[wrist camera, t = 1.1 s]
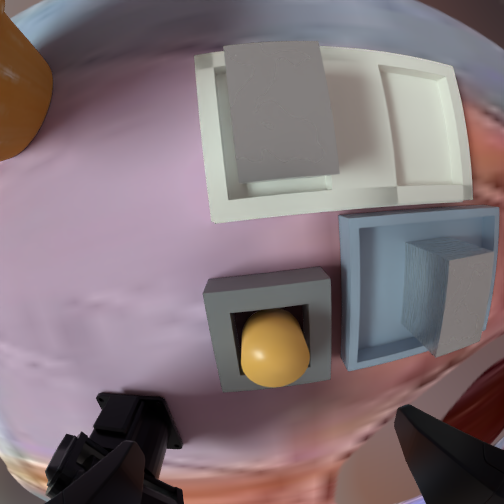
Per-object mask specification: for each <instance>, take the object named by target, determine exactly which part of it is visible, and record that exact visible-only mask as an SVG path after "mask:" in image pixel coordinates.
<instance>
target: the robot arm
mask: <svg viewBox="0 0 504 504" xmlns="http://www.w3.org/2000/svg"><path fill="white" fill-rule="evenodd" d="M96 399H97V401H98V403H99V405H100V407H101V409H102V411H101V413H100V415H99V416H98V418H97V420H96V422H95V423H94V425H93V427H94V430H93V432H92V434H91V435H90V437H89V438H88V436H87V435H86V434H85V433H83V432H81V433H80V434H79V435H78V436H77V437H76V436H75V435H74V436H73V435H69V434H66V435H65V437H64V438H63V440H62V441H61V443H60V445H59V446H58V448H57V450H56V451H55V453H54V455H53V457H52V459H51V461H50V463H49V465H48V467H47V468H46V470H45V473H46V476H47V479H48V483H47V486H48V488H47V491H46V495H47V496H48V497H50V498H51V500H49V501H48V502H46V503H45V504H184V501H183V492H182V489H179V488H177V487H173V486H171V485H168V484H166V483H164V482H162V481H160V480H158V479H159V475H160V471H161V467H162V464H163V460H164V456H165V452H166V449H181V448H182V446H183V443H182V440H181V438H180V436H179V433H178V431H177V429H176V426H175V424H174V421H173V419H172V416H171V414H170V411H169V409H168V406H167V403H166V401H165V399H163V398H162V397H154V396H131V395H117V394H105V393H99V394H98V395H97V397H96ZM158 402H160V403H158ZM394 427H395V430H396V433H397V436H398V439H399V442H400V445H401V448H402V451H403V454H404V457H405V460H406V462H407V464H408V467H409V469H410V471H411V473H412V475H413V477H414V479H415V481H416V483H417V485H418V487H419V489H420V492H421V494H422V496H423V498H424V500H425V502H426V504H504V450H502V449H500V448H497V447H495V446H492V445H490V444H488V443H486V442H483V441H481V440H479V439H477V438H475V437H473V436H471V435H469V434H466V433H464V432H462V431H460V430H458V429H456V428H454V427H452V426H450V425H448V424H446V423H444V422H442V421H440V420H438V419H436V418H434V417H433V416H431V415H429V414H427V413H425V412H423V411H421V410H419V409H417V408H415V407H413V406H412V405H409V404H408V405H404V406H402V407H399V408H398V409H397V413H396V418H395V422H394Z"/></svg>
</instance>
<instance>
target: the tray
mask: <svg viewBox="0 0 504 504" xmlns="http://www.w3.org/2000/svg"><path fill="white" fill-rule="evenodd" d="M338 218H339V233H340V254H341V292H342V322H341V359H342V361H343V363H344V365H345V366H346V368H347V370H348V371H353V370H357V369H362V368H366V367H371V366H375V365H379V364H383V363H387V362H391V361H395V360H398V359H402V358H406V357H409V356H413V355H416V354H419V353H423V352H426V351H428V350H427V349H426V348H425V347H424V346H423V345H422V344H421V343H420V342H419V341H418V340H417V339H416V338H415V337H414V336H413V335H412V334H411V333H410V332H409V331H408V330H407V329H406V328H405V327H404V326H403V325H402V324H401V317H402V306H403V292H404V273H405V242H410V241H418V240H426V239H433V238H441V237H451V238H455V239H458V240H461V241H464V242H467V243H470V244H473V245H476V246H479V247H482V248H485V249H488V250H491V251H493V252H494V261H493V271H492V279H491V286H490V293H489V299H488V305H487V310H486V315H485V320H484V325H483V329H482V331H484V330H486V325H487V321H488V316H489V311H490V306H491V300H492V294H493V288H494V281H495V273H496V264H497V253H498V238H499V207H495V206H489V205H469V206H451V207H435V208H421V209H407V210H393V211H381V212H369V213H357V214H346V215H338Z"/></svg>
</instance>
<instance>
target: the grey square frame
mask: <svg viewBox="0 0 504 504" xmlns="http://www.w3.org/2000/svg"><path fill="white" fill-rule="evenodd" d="M203 298H204V303H205V309H206V314H207V320H208V325H209V330H210V335H211V340H212V345H213V350H214V355H215V359H216V364H217V369H218V373H219V378H220V382H221V387H222V391H223V392H237V391H249V390H260V389H269V388H278V387H265V386H261V385H258V384H256V383H254V382H253V381H251V380H250V379H249V378H248V377H247V376H246V375H245V373H244V372H243V369H242V366H241V353H240V346H239V340H238V334H237V327H236V321H235V314H234V313H235V312H245V311H254V310H263V309H272V308H280V307H288V306H296V305H302V314H303V334H304V339H305V341H306V344H307V347H308V350H309V353H310V361H309V365H308V368H307V369H306V371H305V373H304V374H303V375H302V376H301V377H300V378H299V379H297V380H296V381H294V382H293V383H291V384H288V385H285V386H293V385H300V384H306V383H313V382H319V381H324V380H330V379H331V279H330V277H329V276H328V275H327V274H326V273H325V272H324V271H323V269H322V268H321V267H312V268H304V269H296V270H288V271H279V272H271V273H262V274H253V275H244V276H235V277H226V278H217V279H208V282H207V284H206V287H205V289H204V292H203ZM285 386H281V387H285Z"/></svg>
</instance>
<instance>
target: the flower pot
mask: <svg viewBox="0 0 504 504" xmlns="http://www.w3.org/2000/svg"><path fill="white" fill-rule="evenodd" d="M4 7H5V0H0V161H3V160H6V159H10V158H12V157H14V156H16V155H17V154H19V153H20V152H21V151H23V150H24V149H25V148H26V147H27V146H28V144H29V143H30V142H31V141H32V139H33V138H34V137H35V135H36V134H37V132H38V130H39V128H40V127H41V125H42V123H43V121H44V118H45V116H46V114H47V111H48V108H49V104H50V101H51V96H52V89H53V77H52V71H51V69H50V67H49V65H48V63H47V62H46V61H45V60H44V58H43V57H42V56H41V55H40V54H39V52H38V51H37V50H36V49H35V47H34V46H33V45H32V44H31V43H30V41H29V40H28V39H27V38H26V37H25V36H24V35H23V33H22V32H21V31H20V30H19V29H18V28H17V27H16V25H15V24H14V23H13V22H12V21H11V20H10V18H9V17H8V16H7V15H6V14H5V12H4Z"/></svg>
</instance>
